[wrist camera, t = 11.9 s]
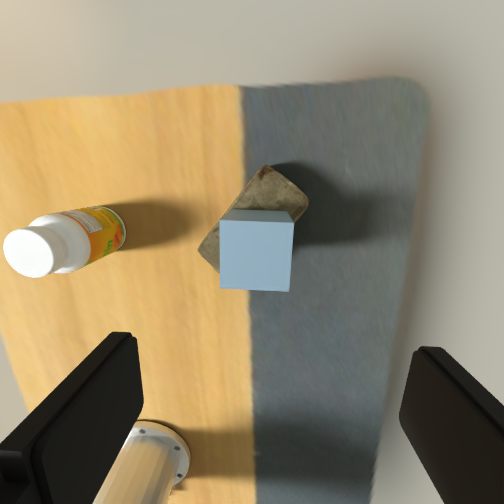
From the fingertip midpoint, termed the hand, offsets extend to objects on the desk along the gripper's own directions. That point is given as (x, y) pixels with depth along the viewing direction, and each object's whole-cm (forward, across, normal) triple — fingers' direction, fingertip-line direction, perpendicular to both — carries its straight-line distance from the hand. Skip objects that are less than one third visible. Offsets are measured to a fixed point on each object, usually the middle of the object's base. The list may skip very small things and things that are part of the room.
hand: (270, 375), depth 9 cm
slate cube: (+16, +1, -1) cm, 16 cm away
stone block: (+21, +2, -2) cm, 21 cm away
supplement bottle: (+21, +18, 0) cm, 28 cm away
